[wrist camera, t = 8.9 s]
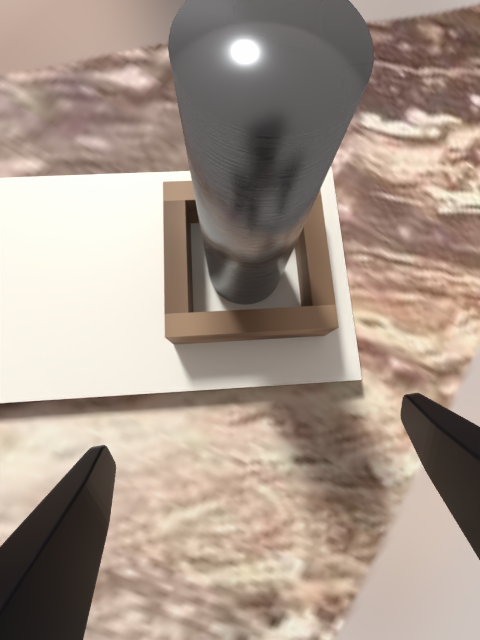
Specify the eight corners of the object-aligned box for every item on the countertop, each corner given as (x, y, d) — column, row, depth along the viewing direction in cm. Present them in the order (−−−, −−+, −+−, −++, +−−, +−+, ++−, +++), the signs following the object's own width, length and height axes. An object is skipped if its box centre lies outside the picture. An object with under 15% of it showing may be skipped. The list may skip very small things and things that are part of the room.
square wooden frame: (308, 201, 21) (318, 175, 18) (324, 335, 19) (338, 327, 16) (170, 206, 20) (162, 181, 18) (173, 344, 18) (164, 337, 16)
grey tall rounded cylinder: (295, 278, 20) (415, 67, 7) (236, 318, 19) (249, 169, 6) (252, 223, 20) (290, -59, 8) (194, 261, 20) (128, 21, 7)
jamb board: (326, 176, 22) (331, 166, 21) (355, 380, 19) (361, 379, 18) (-15, 188, 21) (-26, 178, 20) (-42, 406, 18) (-57, 406, 17)
